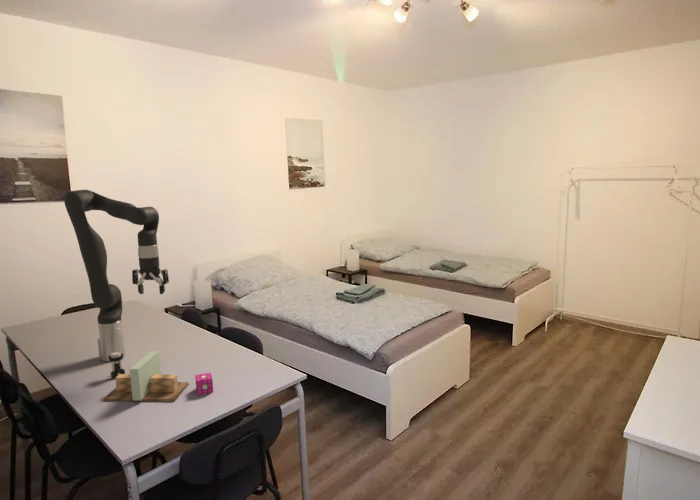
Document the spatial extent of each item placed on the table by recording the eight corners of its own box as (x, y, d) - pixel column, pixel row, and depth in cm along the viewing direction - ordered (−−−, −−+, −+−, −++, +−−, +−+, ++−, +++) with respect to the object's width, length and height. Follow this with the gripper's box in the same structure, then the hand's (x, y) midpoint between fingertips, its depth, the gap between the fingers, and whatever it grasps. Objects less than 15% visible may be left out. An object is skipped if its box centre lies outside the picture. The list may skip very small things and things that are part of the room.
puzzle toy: (197, 395, 163) (196, 381, 162) (196, 388, 168) (195, 374, 167) (213, 392, 165) (212, 378, 164) (211, 386, 171) (210, 372, 170)
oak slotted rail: (104, 400, 159) (102, 383, 158) (123, 383, 172) (121, 368, 171) (174, 401, 159) (173, 384, 158) (188, 384, 171) (187, 369, 170)
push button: (110, 382, 174) (108, 358, 172) (104, 378, 177) (102, 355, 175) (127, 376, 179) (125, 352, 177) (121, 372, 182) (118, 349, 180)
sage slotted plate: (153, 379, 173) (151, 351, 171) (161, 379, 173) (158, 351, 171) (132, 400, 158) (129, 369, 156) (140, 400, 158) (138, 369, 155)
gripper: (169, 254, 184) (172, 291, 186) (136, 254, 184) (139, 291, 187) (161, 257, 176) (164, 296, 179) (126, 257, 177) (130, 296, 179)
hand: (151, 293), depth 183 cm, fingers open, 8 cm apart
